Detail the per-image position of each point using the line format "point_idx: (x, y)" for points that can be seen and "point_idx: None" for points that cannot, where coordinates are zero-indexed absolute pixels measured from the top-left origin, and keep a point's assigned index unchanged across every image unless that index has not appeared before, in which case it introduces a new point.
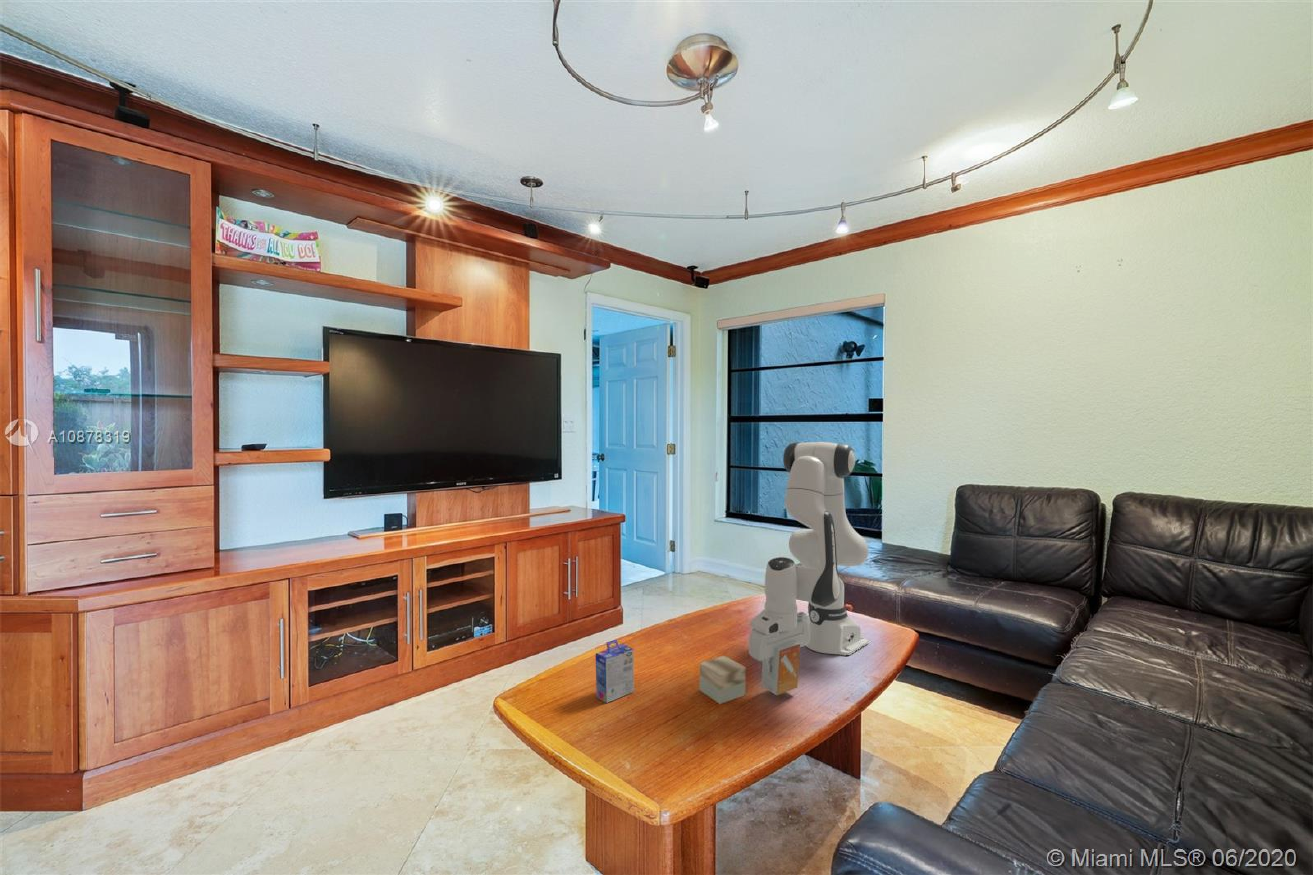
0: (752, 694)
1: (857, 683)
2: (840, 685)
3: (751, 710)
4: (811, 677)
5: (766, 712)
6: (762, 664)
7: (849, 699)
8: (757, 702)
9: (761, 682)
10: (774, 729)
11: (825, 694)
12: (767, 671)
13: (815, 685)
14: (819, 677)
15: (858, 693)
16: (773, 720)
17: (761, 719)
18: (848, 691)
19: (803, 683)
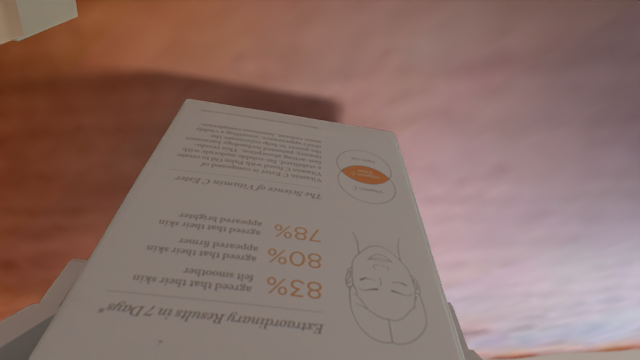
0: (133, 47)
1: (635, 307)
2: (578, 279)
3: (5, 160)
4: (603, 162)
5: (76, 215)
6: (116, 213)
7: (468, 340)
8: (96, 130)
9: (179, 109)
10: (22, 298)
11: (449, 280)
12: None
13: (513, 218)
14: (624, 188)
15: (540, 338)
16: (63, 266)
17: (10, 234)
18: (536, 315)
19: (499, 171)
